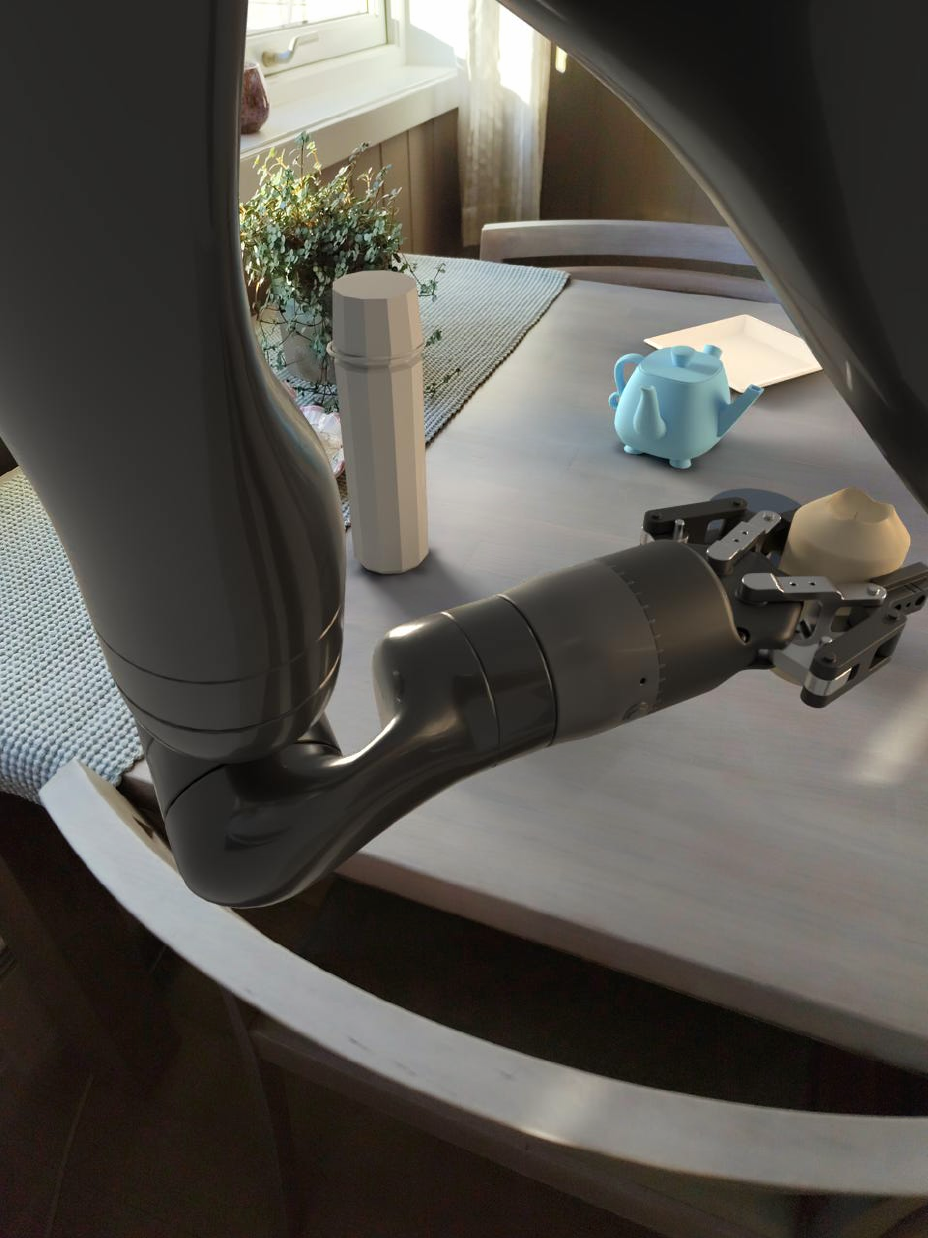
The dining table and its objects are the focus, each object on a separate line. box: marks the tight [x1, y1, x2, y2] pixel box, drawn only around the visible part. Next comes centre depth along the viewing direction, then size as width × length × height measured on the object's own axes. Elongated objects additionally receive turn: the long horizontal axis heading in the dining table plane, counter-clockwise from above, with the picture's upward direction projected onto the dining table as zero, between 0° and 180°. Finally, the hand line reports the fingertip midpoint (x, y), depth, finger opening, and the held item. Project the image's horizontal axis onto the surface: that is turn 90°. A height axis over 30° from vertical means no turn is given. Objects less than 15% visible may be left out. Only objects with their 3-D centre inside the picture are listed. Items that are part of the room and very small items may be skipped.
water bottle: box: [325, 269, 430, 575], centre depth 74 cm, size 9×8×25 cm
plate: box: [643, 314, 824, 395], centre depth 114 cm, size 19×19×2 cm
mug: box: [707, 487, 803, 569], centre depth 75 cm, size 10×9×8 cm
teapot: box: [608, 345, 765, 469], centre depth 94 cm, size 15×14×11 cm
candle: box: [768, 486, 911, 688], centre depth 45 cm, size 6×6×10 cm
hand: (874, 549), depth 45 cm, fingers closed on candle, 5 cm apart
